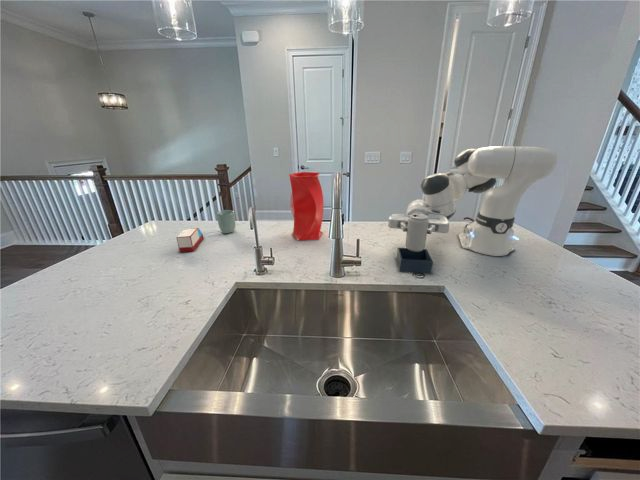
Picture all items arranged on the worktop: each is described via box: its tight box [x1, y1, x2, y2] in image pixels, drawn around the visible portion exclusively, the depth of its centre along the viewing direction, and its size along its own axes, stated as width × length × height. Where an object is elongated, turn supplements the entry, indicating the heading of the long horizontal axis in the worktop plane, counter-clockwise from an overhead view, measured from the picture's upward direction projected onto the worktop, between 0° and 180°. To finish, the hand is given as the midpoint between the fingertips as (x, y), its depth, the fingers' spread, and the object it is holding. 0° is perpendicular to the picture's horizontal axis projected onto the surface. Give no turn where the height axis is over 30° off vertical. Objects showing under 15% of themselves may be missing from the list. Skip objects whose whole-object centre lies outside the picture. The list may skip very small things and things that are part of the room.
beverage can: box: [404, 214, 429, 252], centre depth 88 cm, size 6×6×12 cm
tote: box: [396, 247, 434, 275], centre depth 91 cm, size 10×10×5 cm
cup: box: [216, 209, 237, 234], centre depth 125 cm, size 8×8×10 cm
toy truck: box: [176, 227, 204, 253], centre depth 111 cm, size 6×15×7 cm, turn 8°
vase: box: [288, 171, 324, 241], centre depth 115 cm, size 15×14×28 cm
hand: (417, 230), depth 86 cm, fingers closed on beverage can, 6 cm apart
